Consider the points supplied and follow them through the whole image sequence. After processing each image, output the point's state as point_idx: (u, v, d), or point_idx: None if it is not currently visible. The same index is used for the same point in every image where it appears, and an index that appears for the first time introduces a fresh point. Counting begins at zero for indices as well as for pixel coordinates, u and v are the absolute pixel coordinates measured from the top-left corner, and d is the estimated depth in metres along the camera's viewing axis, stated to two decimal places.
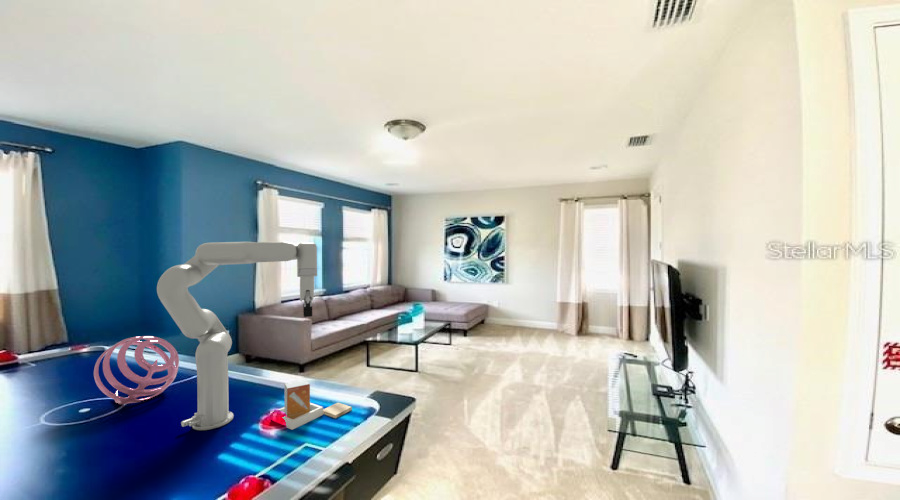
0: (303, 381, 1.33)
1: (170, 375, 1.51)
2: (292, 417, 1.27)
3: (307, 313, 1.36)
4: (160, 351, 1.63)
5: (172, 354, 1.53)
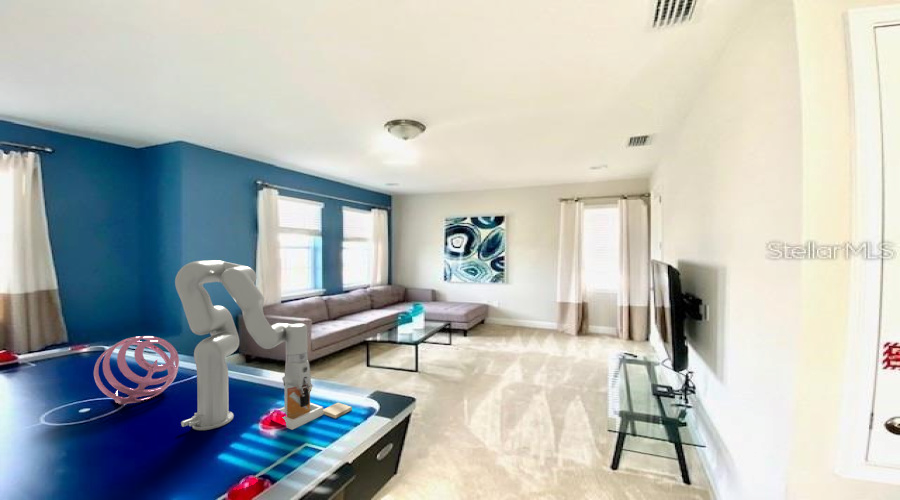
0: None
1: (170, 375, 1.51)
2: (292, 417, 1.27)
3: None
4: (160, 351, 1.63)
5: (172, 354, 1.53)
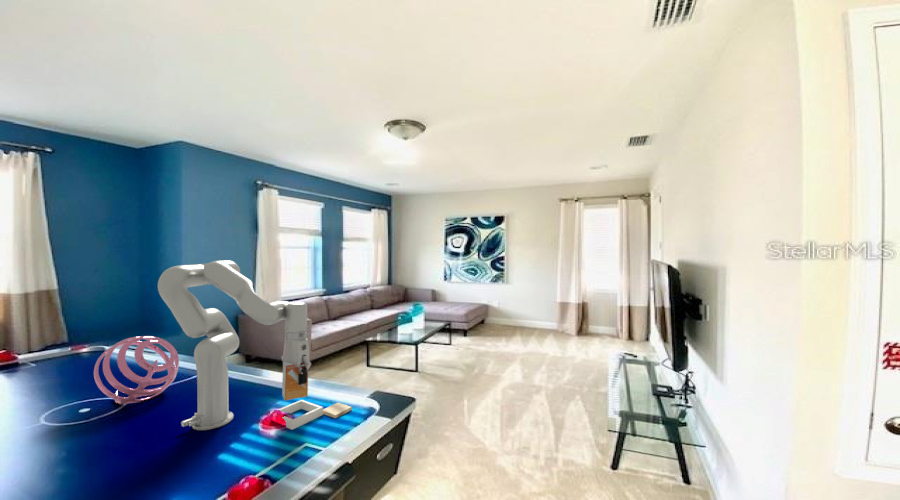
0: None
1: (170, 375, 1.51)
2: (290, 394, 1.27)
3: None
4: (160, 351, 1.63)
5: (172, 354, 1.53)
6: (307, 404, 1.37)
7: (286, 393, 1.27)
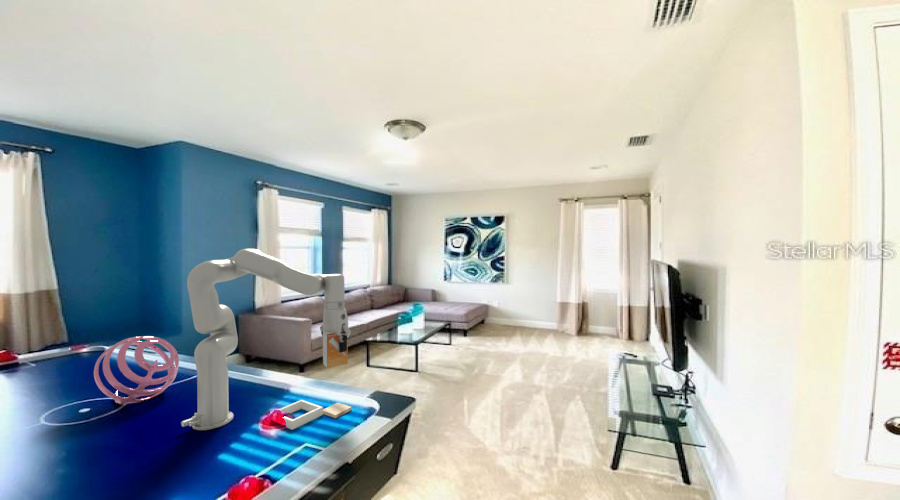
0: None
1: (170, 375, 1.51)
2: (331, 362, 1.32)
3: None
4: (160, 351, 1.63)
5: (172, 354, 1.53)
6: (307, 404, 1.37)
7: (328, 360, 1.31)
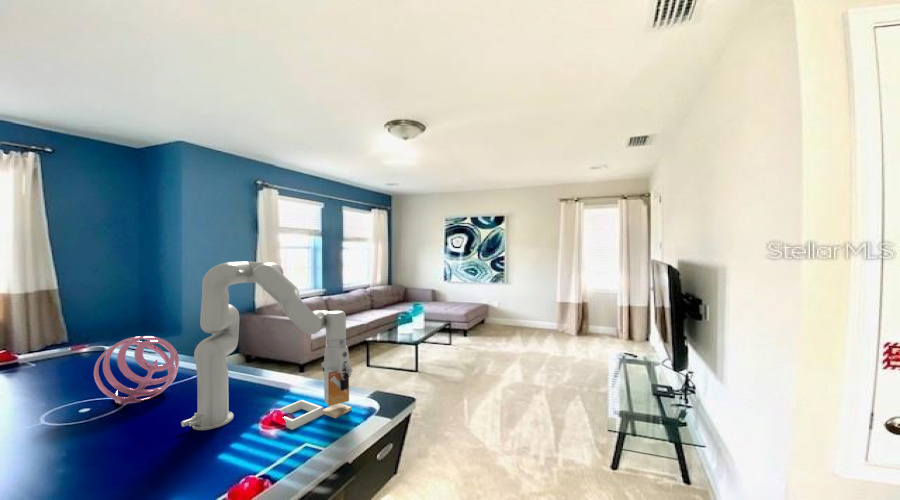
0: None
1: (170, 375, 1.51)
2: (333, 400, 1.32)
3: None
4: (160, 351, 1.63)
5: (172, 354, 1.53)
6: (307, 404, 1.37)
7: (329, 399, 1.31)
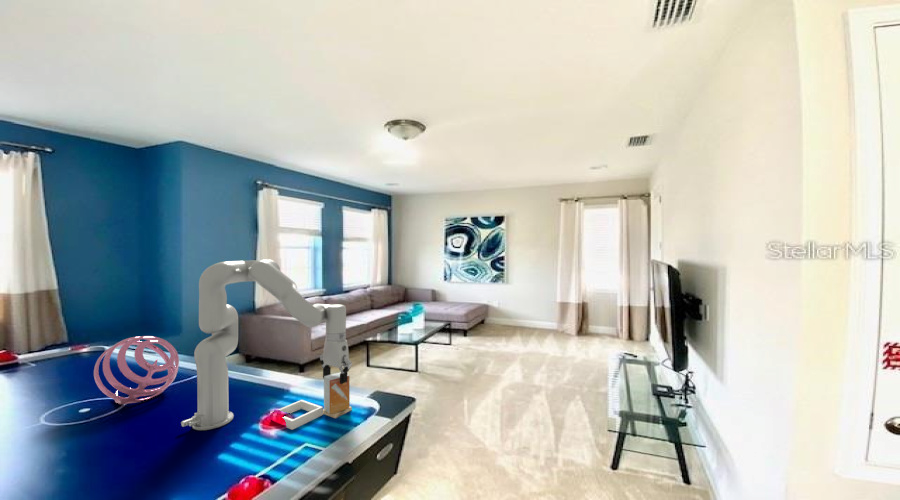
0: None
1: (170, 375, 1.51)
2: (334, 408, 1.32)
3: None
4: (160, 351, 1.63)
5: (172, 354, 1.53)
6: (307, 404, 1.37)
7: (330, 407, 1.31)
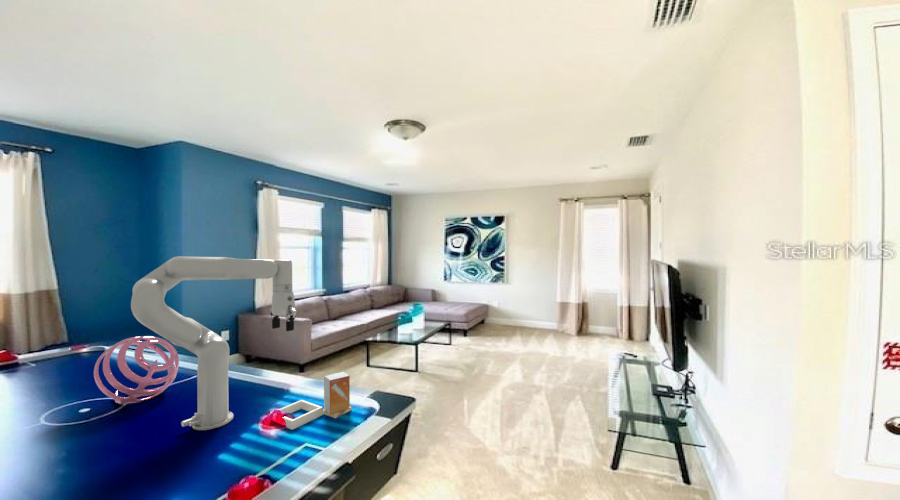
0: (341, 373, 1.38)
1: (170, 375, 1.51)
2: (334, 408, 1.32)
3: None
4: (160, 351, 1.63)
5: (172, 354, 1.53)
6: (307, 404, 1.37)
7: (331, 407, 1.31)
